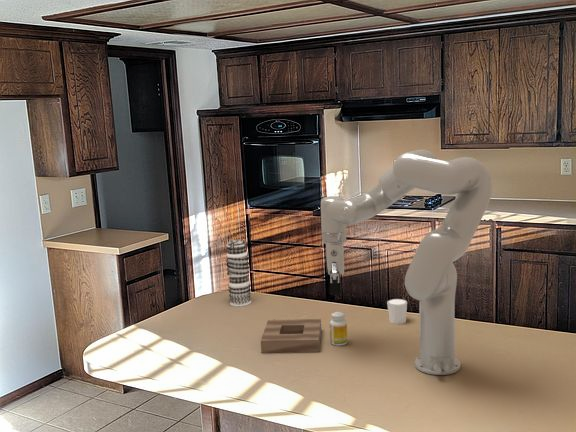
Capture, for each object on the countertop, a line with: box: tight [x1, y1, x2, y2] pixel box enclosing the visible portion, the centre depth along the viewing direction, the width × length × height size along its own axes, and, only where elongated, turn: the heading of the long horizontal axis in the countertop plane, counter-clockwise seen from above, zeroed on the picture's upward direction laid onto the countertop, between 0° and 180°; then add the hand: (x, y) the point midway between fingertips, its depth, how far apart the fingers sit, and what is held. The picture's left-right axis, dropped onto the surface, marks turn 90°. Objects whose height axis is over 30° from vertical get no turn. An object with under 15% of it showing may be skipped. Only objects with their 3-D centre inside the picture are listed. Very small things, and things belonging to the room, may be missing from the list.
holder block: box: [260, 318, 322, 354], centre depth 192 cm, size 18×18×4 cm
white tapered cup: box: [386, 298, 408, 325], centre depth 203 cm, size 7×7×7 cm
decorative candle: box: [225, 239, 252, 307], centre depth 231 cm, size 9×9×25 cm
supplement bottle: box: [329, 311, 348, 347], centre depth 188 cm, size 5×5×10 cm
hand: (335, 289), depth 186 cm, fingers open, 9 cm apart
